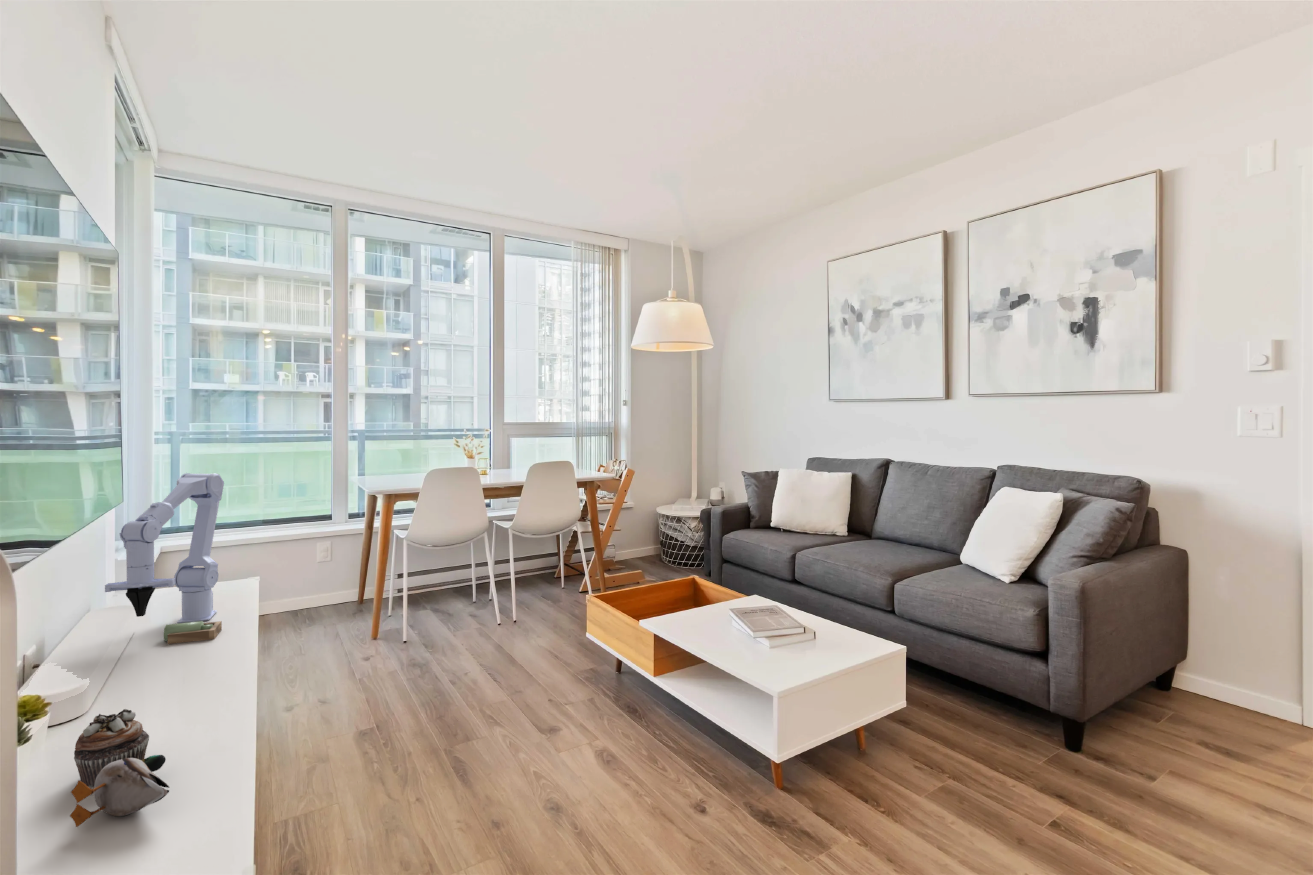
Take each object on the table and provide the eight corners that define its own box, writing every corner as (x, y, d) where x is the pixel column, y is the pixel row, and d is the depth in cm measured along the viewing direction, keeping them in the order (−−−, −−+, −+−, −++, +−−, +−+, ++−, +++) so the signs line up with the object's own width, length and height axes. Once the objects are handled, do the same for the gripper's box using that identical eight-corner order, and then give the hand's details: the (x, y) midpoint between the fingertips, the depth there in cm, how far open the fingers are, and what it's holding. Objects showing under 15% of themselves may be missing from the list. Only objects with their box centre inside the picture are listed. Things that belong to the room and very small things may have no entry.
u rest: (177, 634, 172) (177, 625, 172) (221, 629, 177) (221, 621, 176) (167, 644, 165) (167, 634, 165) (214, 638, 169) (214, 629, 169)
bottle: (168, 621, 169) (213, 617, 173) (169, 635, 170) (214, 631, 174) (162, 629, 165) (209, 625, 169) (164, 644, 166) (210, 639, 170)
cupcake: (69, 797, 98) (68, 735, 98) (79, 769, 106) (78, 711, 105) (147, 777, 103) (146, 718, 103) (151, 752, 111) (151, 697, 111)
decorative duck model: (143, 735, 105) (226, 735, 104) (141, 781, 104) (224, 782, 103) (50, 776, 90) (145, 777, 89) (47, 830, 89) (143, 832, 88)
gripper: (99, 570, 159) (100, 623, 159) (169, 566, 165) (169, 616, 165) (110, 565, 165) (111, 615, 166) (177, 560, 171) (177, 609, 171)
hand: (141, 615), depth 166 cm, fingers closed
